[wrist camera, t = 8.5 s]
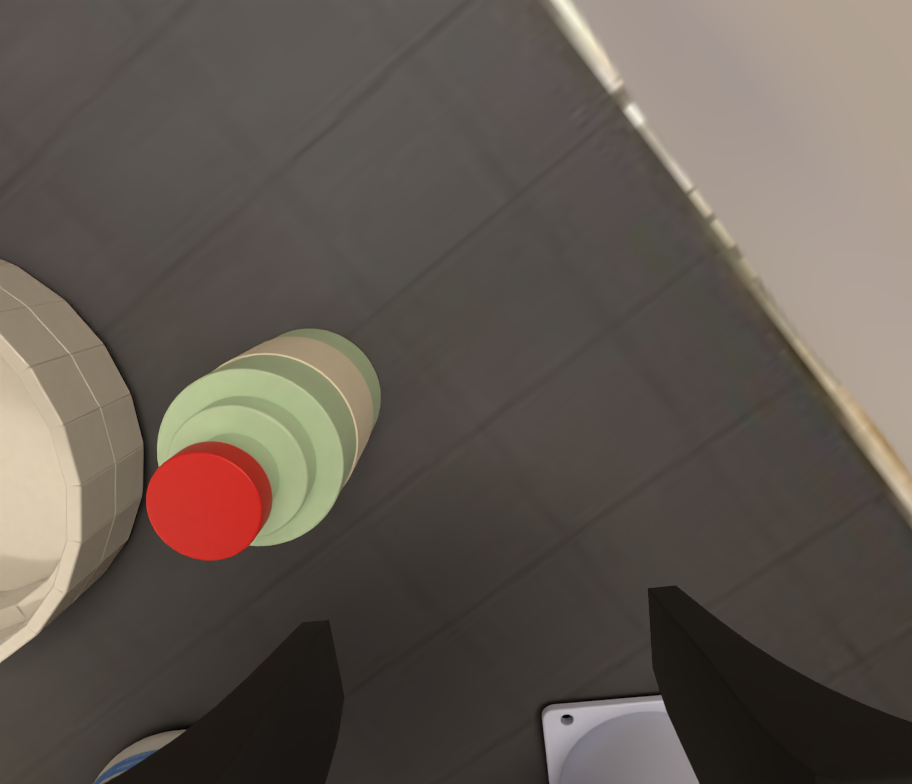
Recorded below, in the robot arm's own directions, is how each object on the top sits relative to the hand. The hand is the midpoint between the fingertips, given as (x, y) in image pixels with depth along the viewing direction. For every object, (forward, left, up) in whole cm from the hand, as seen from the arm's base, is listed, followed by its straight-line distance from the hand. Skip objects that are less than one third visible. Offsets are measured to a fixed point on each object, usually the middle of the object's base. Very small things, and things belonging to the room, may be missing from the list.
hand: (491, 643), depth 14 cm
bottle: (+6, -4, -10) cm, 13 cm away
